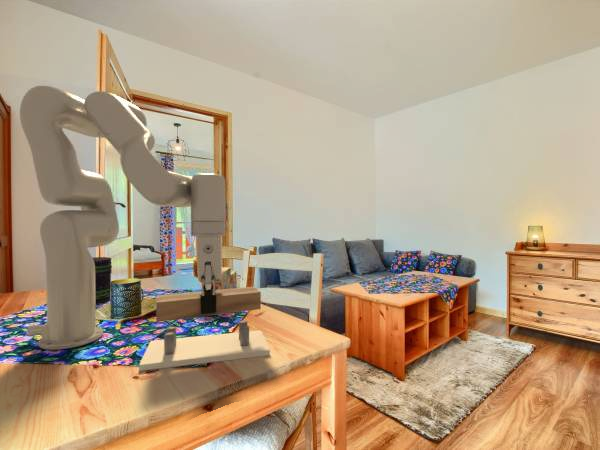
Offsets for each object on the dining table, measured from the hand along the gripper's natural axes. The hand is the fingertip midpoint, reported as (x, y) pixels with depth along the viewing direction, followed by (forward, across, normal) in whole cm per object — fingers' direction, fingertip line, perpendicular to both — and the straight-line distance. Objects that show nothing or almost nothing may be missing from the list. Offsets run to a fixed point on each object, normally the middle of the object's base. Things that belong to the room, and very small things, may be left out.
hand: (208, 307), depth 69 cm
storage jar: (+10, +53, +39) cm, 67 cm away
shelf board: (+1, 0, 0) cm, 1 cm away
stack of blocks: (+10, +41, -4) cm, 42 cm away
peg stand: (+10, 0, 0) cm, 10 cm away
